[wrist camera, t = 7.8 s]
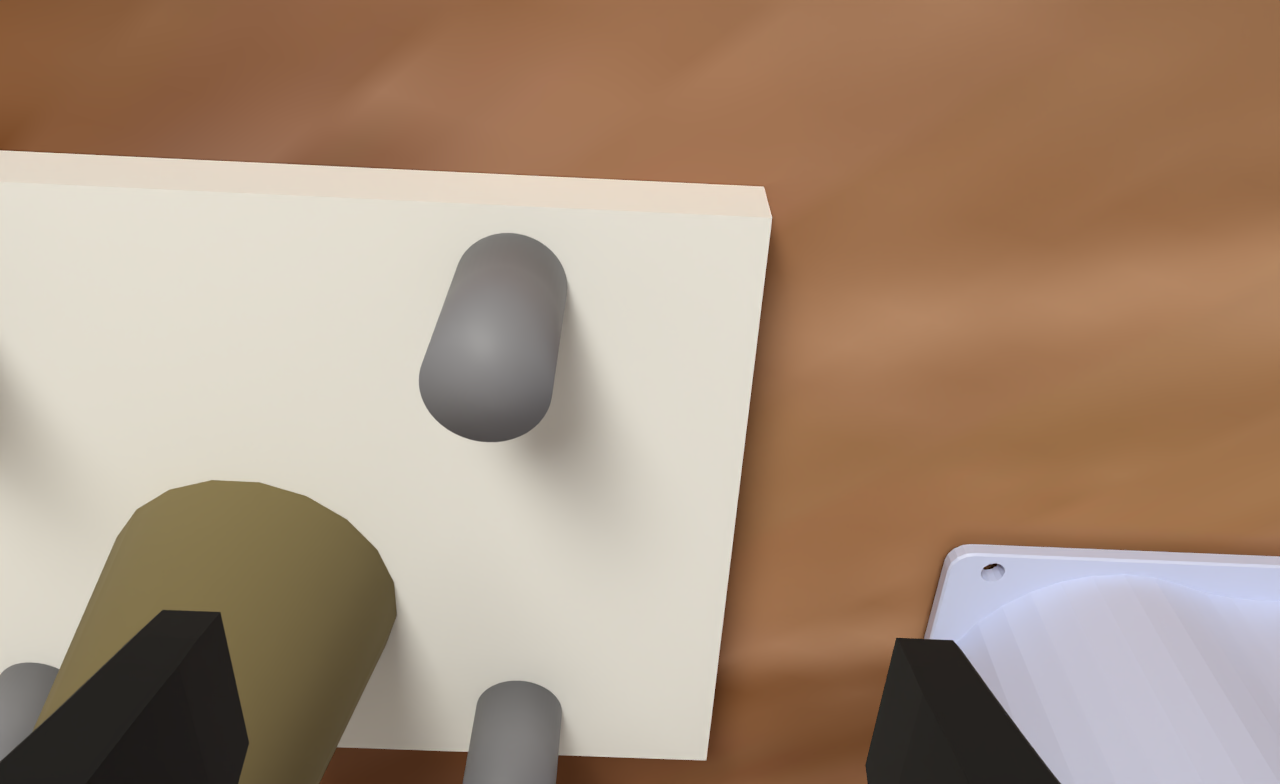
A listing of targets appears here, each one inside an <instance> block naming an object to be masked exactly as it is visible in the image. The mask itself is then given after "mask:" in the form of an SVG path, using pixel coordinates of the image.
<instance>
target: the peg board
mask: <svg viewBox="0 0 1280 784" xmlns="http://www.w3.org/2000/svg"><path fill="white" fill-rule="evenodd" d="M771 224H772V215H771V212H770V208H769V204H768V200H767V197H766V193H765V189H764V187H760V186H739V185H718V184H697V183H675V182H654V181H633V180H612V179H591V178H570V177H549V176H528V175H507V174H485V173H464V172H443V171H422V170H401V169H380V168H359V167H338V166H317V165H296V164H274V163H253V162H232V161H211V160H190V159H169V158H148V157H127V156H106V155H85V154H63V153H42V152H21V151H0V761H1V760H2V759H3V758H4V757H6V756H7V755H8V754H9V753H10V752H11V751H12V750H13V749H14V748H15V747H16V746H18V745H19V744H20V743H21V742H22V741H23V740H24V739H25V738H26V737H27V736H29V735H30V734H31V733H32V731H33V729H34V727H35V724H36V722H37V720H38V717H39V715H40V713H41V711H42V708H43V706H44V704H45V701H46V699H47V697H48V694H49V692H50V690H51V687H52V685H53V683H54V681H55V678H56V676H57V674H58V671H59V669H60V667H61V664H62V662H63V660H64V657H65V655H66V653H67V651H68V648H69V646H70V644H71V641H72V639H73V637H74V634H75V632H76V630H77V627H78V625H79V623H80V621H81V618H82V616H83V614H84V611H85V609H86V607H87V604H88V602H89V600H90V597H91V595H92V593H93V591H94V588H95V586H96V584H97V581H98V579H99V577H100V574H101V572H102V570H103V567H104V565H105V563H106V561H107V558H108V556H109V554H110V551H111V549H112V547H113V544H114V542H115V540H116V537H117V536H118V535H119V533H120V532H121V530H122V529H123V528H124V526H125V525H126V523H127V522H128V521H129V519H130V518H131V516H132V515H133V514H134V512H135V511H136V509H138V508H140V507H141V506H143V505H145V504H146V503H148V502H150V501H151V500H153V499H155V498H156V497H158V496H160V495H161V494H163V493H165V492H166V491H168V490H170V489H174V488H179V487H183V486H188V485H192V484H197V483H201V482H206V481H210V480H221V481H242V482H260V483H264V484H267V485H270V486H274V487H277V488H281V489H284V490H287V491H291V492H294V493H298V494H301V495H304V496H307V497H309V498H311V499H312V500H314V501H316V502H318V503H319V504H321V505H323V506H325V507H326V508H328V509H330V510H332V511H333V512H335V513H337V514H338V515H340V516H342V517H344V518H345V519H347V520H348V521H349V522H350V523H351V524H352V525H353V526H354V527H355V528H356V529H357V530H358V531H359V532H360V533H361V534H362V535H363V536H364V537H365V538H366V539H367V540H368V541H369V542H370V543H371V544H372V545H373V546H374V547H375V548H376V549H377V550H378V552H379V554H380V556H381V558H382V560H383V562H384V564H385V566H386V568H387V570H388V572H389V574H390V576H391V578H392V579H393V581H394V588H395V599H396V610H397V616H396V619H395V622H394V625H393V627H392V630H391V633H390V636H389V638H388V641H387V644H386V646H385V648H384V650H383V652H382V654H381V656H380V659H379V661H378V663H377V665H376V667H375V669H374V671H373V673H372V675H371V677H370V679H369V681H368V683H367V685H366V688H365V690H364V692H363V694H362V696H361V698H360V700H359V702H358V704H357V706H356V708H355V710H354V712H353V714H352V717H351V719H350V721H349V723H348V725H347V727H346V729H345V731H344V733H343V735H342V737H341V739H340V741H339V743H338V746H337V747H345V748H373V749H400V750H428V751H456V752H468V756H467V762H466V767H465V773H464V779H463V784H556V776H557V765H558V755H568V756H596V757H624V758H652V759H679V760H706V759H707V750H708V742H709V734H710V726H711V718H712V709H713V701H714V693H715V685H716V676H717V668H718V660H719V652H720V643H721V635H722V627H723V619H724V611H725V602H726V594H727V586H728V578H729V569H730V561H731V553H732V545H733V536H734V528H735V520H736V512H737V504H738V495H739V487H740V479H741V471H742V462H743V454H744V446H745V438H746V430H747V421H748V413H749V405H750V397H751V388H752V380H753V372H754V364H755V355H756V347H757V339H758V331H759V323H760V314H761V306H762V298H763V290H764V281H765V273H766V265H767V257H768V248H769V240H770V232H771Z"/></svg>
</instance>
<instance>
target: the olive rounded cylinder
mask: <svg viewBox="0 0 1280 784" xmlns="http://www.w3.org/2000/svg"><path fill="white" fill-rule="evenodd" d="M162 610H182V611H208V612H221V617H222V621H223V626H224V630H225V635H226V639H227V644H228V648H229V653H230V658H231V662H232V667H233V671H234V676H235V680H236V685H237V689H238V694H239V699H240V703H241V708H242V712H243V717H244V721H245V726H246V730H247V735H248V740H249V746H248V749H247V753H246V757H245V760H244V764H243V768H242V771H241V775H240V779H239V782H238V784H319V783H320V781H321V779H322V777H323V775H324V773H325V770H326V768H327V766H328V764H329V762H330V760H331V758H332V756H333V754H334V752H335V750H336V748H337V746H338V743H339V741H340V739H341V737H342V735H343V733H344V731H345V729H346V727H347V725H348V723H349V721H350V719H351V717H352V714H353V712H354V710H355V708H356V706H357V704H358V702H359V700H360V698H361V696H362V694H363V692H364V690H365V688H366V685H367V683H368V681H369V679H370V677H371V675H372V673H373V671H374V669H375V667H376V665H377V663H378V661H379V659H380V656H381V654H382V652H383V650H384V648H385V646H386V644H387V641H388V638H389V636H390V633H391V630H392V627H393V625H394V622H395V619H396V616H397V610H396V599H395V588H394V581H393V579H392V578H391V576H390V574H389V572H388V570H387V568H386V566H385V564H384V562H383V560H382V558H381V556H380V554H379V552H378V550H377V549H376V548H375V547H374V546H373V545H372V544H371V543H370V542H369V541H368V540H367V539H366V538H365V537H364V536H363V535H362V534H361V533H360V532H359V531H358V530H357V529H356V528H355V527H354V526H353V525H352V524H351V523H350V522H349V521H348V520H347V519H345V518H344V517H342V516H340V515H338V514H337V513H335V512H333V511H332V510H330V509H328V508H326V507H325V506H323V505H321V504H319V503H318V502H316V501H314V500H312V499H311V498H309V497H307V496H304V495H301V494H298V493H294V492H291V491H287V490H284V489H281V488H277V487H274V486H270V485H267V484H264V483H260V482H242V481H221V480H210V481H206V482H201V483H197V484H192V485H188V486H183V487H179V488H174V489H170V490H168V491H166V492H165V493H163V494H161V495H160V496H158V497H156V498H155V499H153V500H151V501H150V502H148V503H146V504H145V505H143V506H141V507H140V508H138V509H136V511H135V512H134V514H133V515H132V516H131V518H130V519H129V521H128V522H127V523H126V525H125V526H124V528H123V529H122V530H121V532H120V533H119V535H118V536H117V537H116V540H115V542H114V544H113V547H112V549H111V551H110V554H109V556H108V558H107V561H106V563H105V565H104V567H103V570H102V572H101V574H100V577H99V579H98V581H97V584H96V586H95V588H94V591H93V593H92V595H91V597H90V600H89V602H88V604H87V607H86V609H85V611H84V614H83V616H82V618H81V621H80V623H79V625H78V627H77V630H76V632H75V634H74V637H73V639H72V641H71V644H70V646H69V648H68V651H67V653H66V655H65V657H64V660H63V662H62V664H61V667H60V669H59V671H58V674H57V676H56V678H55V681H54V683H53V685H52V687H51V690H50V692H49V694H48V697H47V699H46V701H45V704H44V706H43V708H42V711H41V713H40V715H39V717H38V720H37V722H36V724H35V727H34V729H33V731H34V730H35V729H36V728H37V727H38V726H39V725H41V724H42V723H43V722H44V721H45V720H46V719H47V718H48V717H49V716H50V715H51V714H53V713H54V712H55V711H56V710H57V709H58V708H59V707H60V706H61V705H62V704H63V703H64V702H65V701H66V700H67V699H68V698H69V697H71V696H72V695H73V694H74V693H75V692H76V691H77V690H78V689H79V688H80V687H81V686H82V685H83V684H84V683H85V682H86V681H87V680H88V679H90V678H91V677H92V676H93V675H94V674H95V673H96V672H97V671H98V670H99V669H100V668H101V667H102V666H103V665H104V664H105V663H106V662H107V661H108V660H109V659H110V658H111V657H113V656H114V655H115V654H116V653H117V652H118V651H119V650H120V649H121V648H122V647H123V646H124V645H125V644H126V643H127V642H128V641H129V640H130V639H131V638H132V637H133V636H135V635H136V634H137V633H138V632H139V631H140V630H141V629H142V628H143V627H144V626H145V625H146V624H147V623H149V622H150V621H151V620H152V619H153V618H154V617H155V616H156V615H157V614H159V613H160V612H161V611H162ZM33 731H32V732H33Z"/></svg>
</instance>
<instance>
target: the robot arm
mask: <svg viewBox="0 0 1280 784" xmlns="http://www.w3.org/2000/svg"><path fill="white" fill-rule="evenodd" d="M994 563H996V564H997V566H995V567H994V568H992V569H987V570H984V569H983V568H984V567H985V566H987V565H989V564H994ZM248 746H249V740H248V735H247V730H246V726H245V721H244V717H243V712H242V708H241V703H240V699H239V694H238V689H237V685H236V680H235V676H234V671H233V667H232V662H231V658H230V653H229V648H228V644H227V639H226V635H225V630H224V626H223V621H222V617H221V612H208V611H182V610H162V611H161V612H160V613H159V614H157V615H156V616H155V617H154V618H153V619H152V620H151V621H150V622H149V623H147V624H146V625H145V626H144V627H143V628H142V629H141V630H140V631H139V632H138V633H137V634H136V635H135V636H133V637H132V638H131V639H130V640H129V641H128V642H127V643H126V644H125V645H124V646H123V647H122V648H121V649H120V650H119V651H118V652H117V653H116V654H115V655H114V656H113V657H111V658H110V659H109V660H108V661H107V662H106V663H105V664H104V665H103V666H102V667H101V668H100V669H99V670H98V671H97V672H96V673H95V674H94V675H93V676H92V677H91V678H90V679H88V680H87V681H86V682H85V683H84V684H83V685H82V686H81V687H80V688H79V689H78V690H77V691H76V692H75V693H74V694H73V695H72V696H71V697H69V698H68V699H67V700H66V701H65V702H64V703H63V704H62V705H61V706H60V707H59V708H58V709H57V710H56V711H55V712H54V713H53V714H51V715H50V716H49V717H48V718H47V719H46V720H45V721H44V722H43V723H42V724H41V725H39V726H38V727H37V728H36V729H35V730H34V731H33V732H32V733H31V734H30V735H29V736H27V737H26V738H25V739H24V740H23V741H22V742H21V743H20V744H19V745H18V746H16V747H15V748H14V749H13V750H12V751H11V752H10V753H9V754H8V755H7V756H6V757H4V758H3V759H2V760H1V761H0V784H238V782H239V779H240V775H241V771H242V768H243V764H244V760H245V757H246V753H247V749H248ZM866 773H867V781H868V784H1280V557H1278V556H1254V555H1229V554H1204V553H1179V552H1155V551H1130V550H1105V549H1080V548H1056V547H1031V546H1006V545H981V544H967V545H961V546H959V547H957V548H954V549H953V550H952V551H951V552H950V553H948V555H947V557H946V558H945V560H944V564H943V568H942V572H941V576H940V579H939V583H938V587H937V591H936V595H935V599H934V602H933V606H932V610H931V614H930V618H929V621H928V625H927V629H926V633H925V637H924V639H910V638H896V641H895V646H894V650H893V654H892V658H891V662H890V666H889V670H888V674H887V679H886V683H885V687H884V691H883V695H882V699H881V703H880V707H879V712H878V716H877V720H876V724H875V728H874V732H873V736H872V740H871V745H870V749H869V753H868V757H867V761H866Z"/></svg>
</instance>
